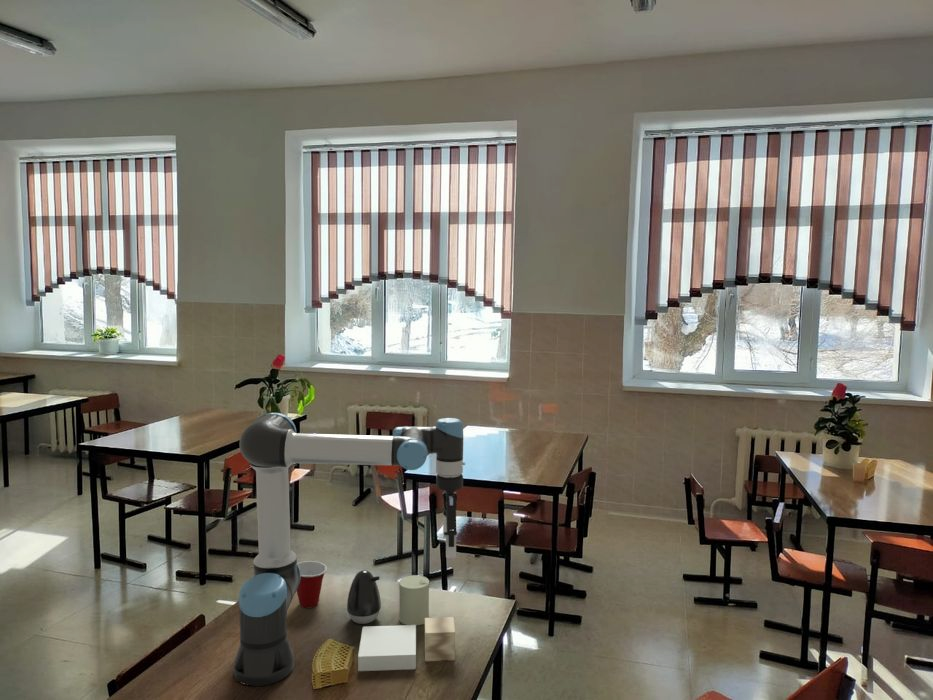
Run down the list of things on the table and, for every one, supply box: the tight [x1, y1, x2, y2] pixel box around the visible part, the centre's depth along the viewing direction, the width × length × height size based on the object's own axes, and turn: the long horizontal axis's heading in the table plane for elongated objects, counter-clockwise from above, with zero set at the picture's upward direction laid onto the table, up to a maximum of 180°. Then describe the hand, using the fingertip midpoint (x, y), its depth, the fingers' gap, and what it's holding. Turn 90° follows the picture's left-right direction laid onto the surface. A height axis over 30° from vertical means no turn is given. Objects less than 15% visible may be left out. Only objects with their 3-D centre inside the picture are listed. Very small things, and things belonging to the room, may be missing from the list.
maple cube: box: [424, 616, 456, 662], centre depth 175 cm, size 8×8×8 cm
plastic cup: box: [296, 560, 327, 609], centre depth 201 cm, size 11×11×12 cm
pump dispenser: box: [346, 569, 382, 625], centre depth 191 cm, size 10×10×15 cm
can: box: [398, 574, 430, 627], centre depth 193 cm, size 9×9×12 cm
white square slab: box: [357, 624, 417, 672], centre depth 174 cm, size 15×15×4 cm
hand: (449, 547), depth 180 cm, fingers open, 13 cm apart
